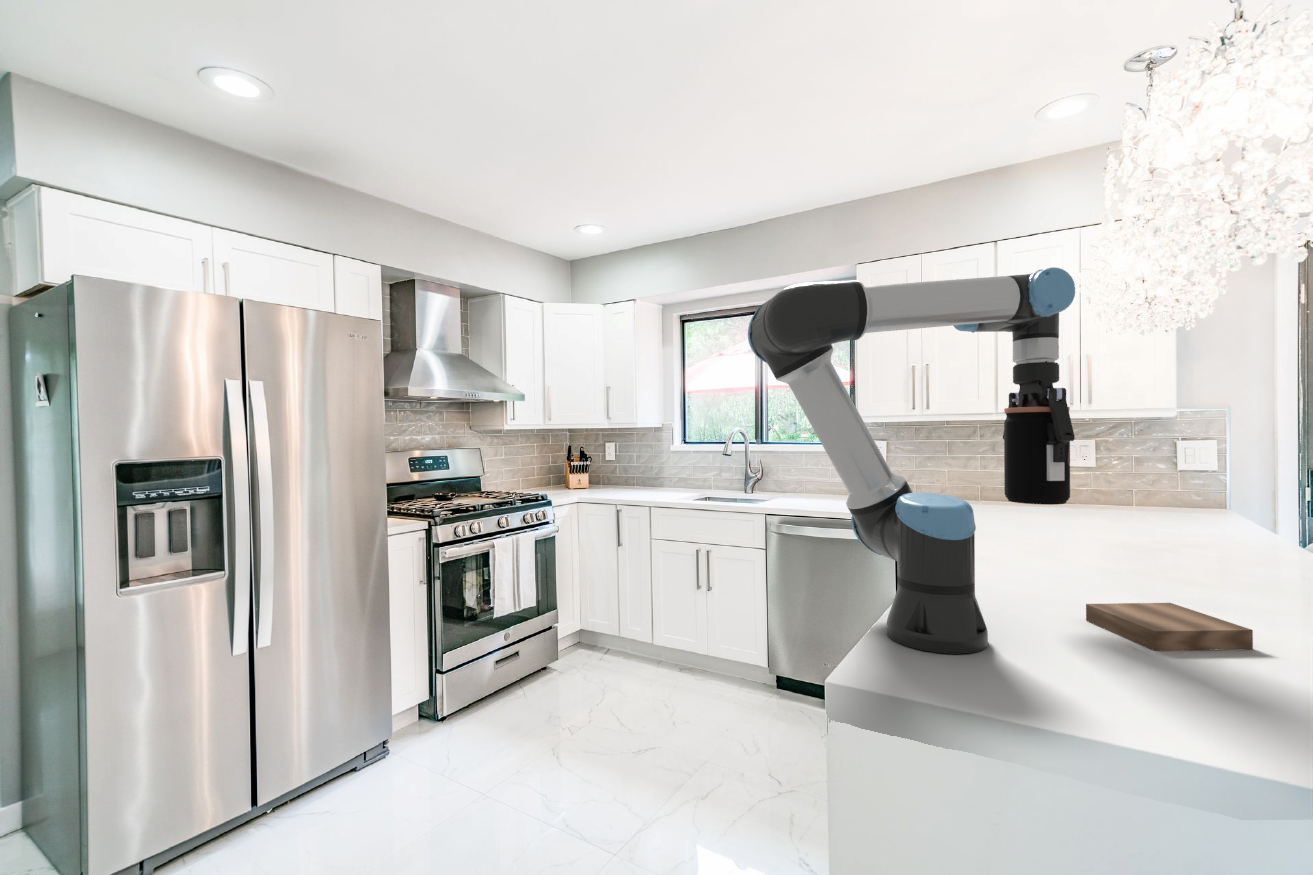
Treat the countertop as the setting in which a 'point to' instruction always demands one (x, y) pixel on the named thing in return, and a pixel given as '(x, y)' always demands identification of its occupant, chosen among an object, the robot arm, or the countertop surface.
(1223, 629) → the walnut riser
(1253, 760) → the countertop surface
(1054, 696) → the countertop surface
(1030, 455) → the coffee jar
